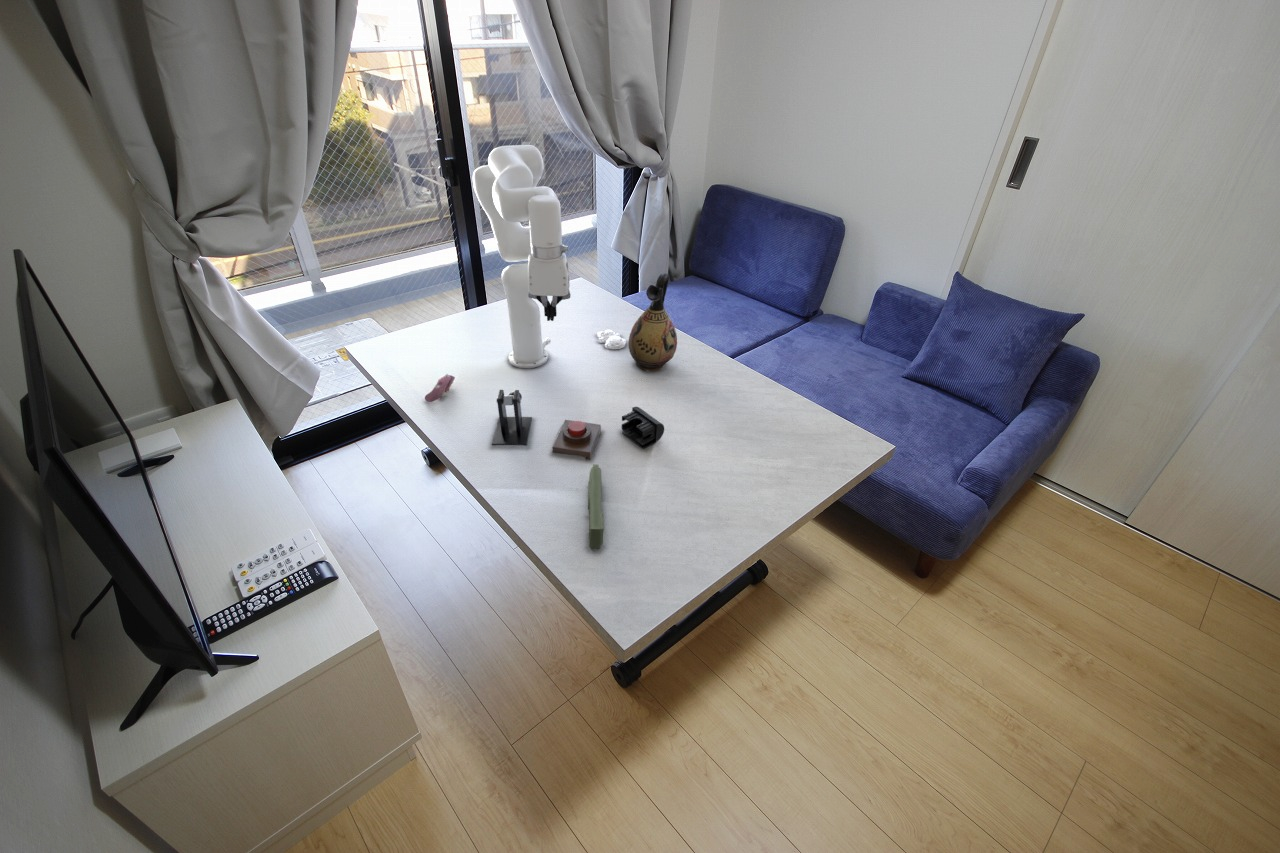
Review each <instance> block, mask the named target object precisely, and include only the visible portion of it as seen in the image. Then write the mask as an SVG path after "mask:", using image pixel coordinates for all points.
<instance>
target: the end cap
mask: <svg viewBox="0 0 1280 853" xmlns="http://www.w3.org/2000/svg"><path fill="white" fill-rule="evenodd" d="M621 421H622V422H624V423H621V432H622V433H621V434H622V435H623V436H625V437H626V438H627V439H629V440H630V441H631V442H633V443H634V444H635V445H636V446H637V447H639V448H640V449H641V450H645V449H647V448H649V447H651V446H654V444H656V443H657V442H658V441H659V440H660V439H661V438H662V437H663V435H664V433H665V425H664V424H663V423H662V422H660V421H659V420H657V419H656V418H654V417H653V416H652V415H651V414H649V413H648V412H646V411H645V410H644V409H642V408H641V407H639V406H633V407H632V408H631V411H630V412H628V413H626V414H624V415H621ZM625 421H626V422H625Z"/></svg>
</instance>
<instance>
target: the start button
mask: <svg viewBox="0 0 1280 853" xmlns="http://www.w3.org/2000/svg"><path fill="white" fill-rule="evenodd" d="M572 421H573V422H571V423H570V424H569V426H568V429H569V434H570V435H572V436H581V435H583V434H584V433H585V424H584V423H583V422H584V421H581V420H572Z"/></svg>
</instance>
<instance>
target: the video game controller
mask: <svg viewBox="0 0 1280 853" xmlns="http://www.w3.org/2000/svg"><path fill="white" fill-rule="evenodd" d="M455 379H456V377H455V376H453V375H451V374H448V373H446V374H445V375H443V377H439V379H438V380H437V382H436V384H435V385H434V387H433V388H432V390H431V391H430V392H429V393H427V394H426V395H425V396H424V400H425V401H426V402H427V403H433V402H436V401H437V400H438V399H439V400H442V398H443V397H444V396H445V395H446V393H448V392H449V391H450V388H451V386H452V384H454V381H455Z"/></svg>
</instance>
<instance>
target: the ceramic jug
mask: <svg viewBox="0 0 1280 853" xmlns="http://www.w3.org/2000/svg"><path fill="white" fill-rule="evenodd" d="M669 280H670V275H669V274H668V273H664V272H663V273H661V274H659V276H658V277H657V280H656V282H655V285H654V284H649V286H648V287H647V289H646V291H645V292H646V297H647V298H648V300H649V301H651V302H650V305H649V306H648V307H647V308H646V309H645V310H644V311H643V312H642V313H641V315H640V316H639V317H638V318H637V319H636V321H635V322H634V323H633V326H632V328H631V331H630V333H629V336H628V342H627V343H628V344H627V346H628V350H629V354H630V356H631V357H632V359H633V360H634V362H635V363H634V364H635V366H636V367H637V368H638V369H639V370H641V371H643V372H652V373H655V372H658V371H660V370H662V369H663V368H664V366H665V365H666V364H668V362H670V361H671V360H672V359H673V358H674V356H675V353H676V351H677V348H678V335H677V331H676V328H675V325H674V323H673V321H672V319H671V317H670V316H669V313H668V312H667V310H666V309H665V304H664V303H665V298H666V294H667V290H668V285H669Z"/></svg>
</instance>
